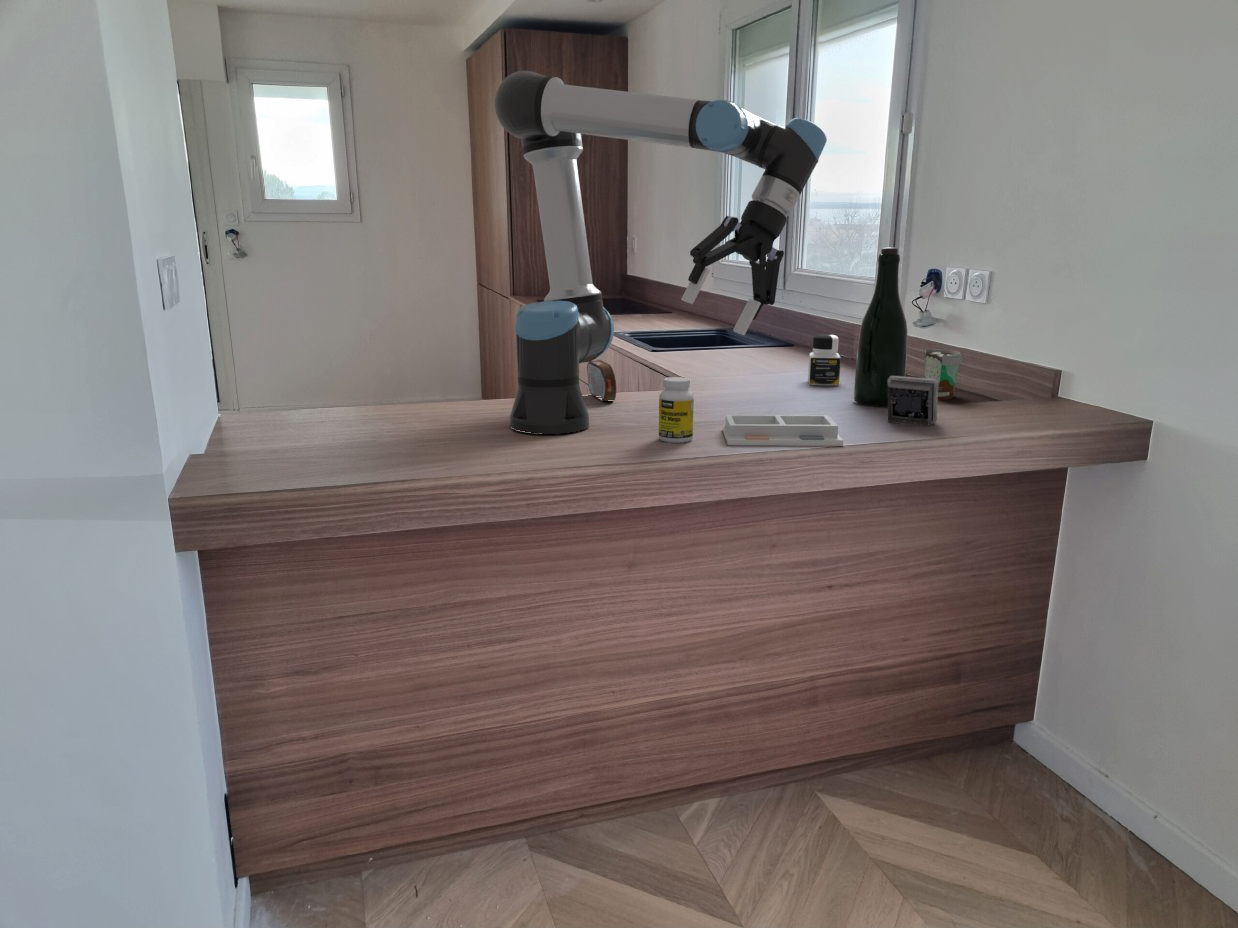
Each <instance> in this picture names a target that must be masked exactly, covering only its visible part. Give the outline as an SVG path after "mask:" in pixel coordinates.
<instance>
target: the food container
mask: <svg viewBox="0 0 1238 928" xmlns="http://www.w3.org/2000/svg"><path fill="white" fill-rule="evenodd" d="M923 358H924V370H923V378H927V379H936V380H937V382H938V399H937V401H941V400H942V401H943V400H950V399H953V398H954V395H955V388H956V381H957V377H958V373H959V372H958V371H959V366H960V365H961V364H963V357H962V355H961V352H960V351H956V350H955V351H954V350H951V349H950V350H948V349H936V348H925V352H924V357H923Z"/></svg>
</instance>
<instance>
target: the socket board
mask: <svg viewBox="0 0 1238 928" xmlns="http://www.w3.org/2000/svg"><path fill="white" fill-rule="evenodd" d="M722 433H723V435H724V438H725V441H726V443H727V446H789V447H791V446H793V447H795V446H796V447H797V446H799V447H800V446H803V447H805V446H806V447H808V446H811V447H812V446H813V447H814V446H815V447H817V446H818V447H819V446H820V447H823V446H824V447H827V446H828V447H833V446H834V447H843V446H844V439H843V438H842V437H841V436H840V435H839V434H838V433H839V425H838V424H837V423H836V422H835V421H834V420H833V419H832V418H831V417H830V415H828V414H725V424H722Z"/></svg>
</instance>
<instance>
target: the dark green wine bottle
mask: <svg viewBox="0 0 1238 928" xmlns="http://www.w3.org/2000/svg"><path fill="white" fill-rule="evenodd" d="M900 262H901V256H900V253H899V248H897V247H882V248H881V250H880V253H879V254H878V258H877V273H876V283H875V288H874V292H873V294H872V298H871V300H870V303H869V305H868V307H867V309H866V312H865V314H864V316H863V318H862V321H861V324H860V328H859V334H858V335H859V336H858V341H857V342H858V343H857V352H856V363H855V375H854V387H853V400H854V402H856V403H857V404H860V405H863V406H870V407H888V378H889V377H890V376H902V377H906V374H907V373H906V372H907V369H906V368H907V358H908V357H907V355H908V323H907V318H906V315H905V312H904V309H903V304H902V302H901V299H900V292H899V290H900V289H899V288H900V287H899V271H900V269H899V268H900Z"/></svg>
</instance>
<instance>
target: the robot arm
mask: <svg viewBox="0 0 1238 928" xmlns="http://www.w3.org/2000/svg"><path fill="white" fill-rule="evenodd" d="M494 109H495V110H494V111H495V115H496V117H497V120H498V122H499V123H500V126H501V127H502V128H503V129H504V130H505V131H506V132H507V133H509V134H510V135H512V136H513V137H515V138H517V139H520V141H521V149H522V154H523V158H524V160H526V161H527V162H528V163H529V164H531V165H532V169H533V170H532V171H533V177H534V178H533V179H534V184H535V190H536V198H537V206H538V212H539V213H538V214H539V220H540V225H541V226H540V227H541V232H542V233H541V235H542V240H543V247H544V254H545V261H546V268H547V276H548V281H549V282H548V283H549V292H548V293H547V294H546V296H545V297H544V299H543V301H539V302H531V303H528V304H525V305H523V306H521V307H520V308H519V309H518V310H517V312H516V315H515V316H516V317H515V318H516V319H515V326H514V330H515V338H516V339H515V341H516V363H517V365H516V366H517V383H518V384H517V391H516V394H515V397H514V402H513V405H512V409H511V412H510V415H509V424H510V425H509V426H511V427H512V428H514V429H516V430H520V431H525V432H531V433H542V434H555V435H561V434H560V433H567V434H570V433H569V432H573V433H577V432H576V431H578V432H581V431H580V430H582V431H584V430H587V429H588V428H589V427H590V415H589V411H588V408H587V405H586V403H585V400H584V396H583V393H582V390H581V387H580V364H583V363H588V362H590V361H595V360H597V358H599V357H600V356H602V355H603V354H605V352H607V350H608V349H609V348H610V346H611V344H612V341H613V338H614V335H615V326H614V321H613V317H612V315H611V314H610V312H609V311H608V310H607V309H606V308H605V307H604V302H603V295H602V294H603V293H602V291H601V290H599V289H598V288H597V287H596V286H595V285H594V283H593V276H592V270H591V263H590V262H591V260H590V254H589V246H588V239H587V238H588V237H587V230H586V229H587V228H586V223H585V216H584V209H583V208H584V207H583V201H582V200H583V199H582V192H581V185H580V177H579V176H580V175H579V169H578V158H579V156H580V155H581V154H582V153H583V152H584V148H583V140H582V137H583V135H586V136H596V137H604V138H610V139H611V138H612V139H621V140H626V141H627V140H628V141H636V142H643V143H649V144H650V143H651V144H658V145H666V146H673V147H674V146H675V147H676V146H677V147H683V148H691V149H697V150H701V151H711V152H717V153H723V154H726V155H729V156H731V157H734V158H736V159H739V160H741V161H744V162H747V163H749V164H751V165H754V166H756V167H758V168H760V169H763V170H764V171H763V174H762V175H761V178H760V179H759V181H758V183H757V185H756V187H755V188H754V191H753V192H752V194H751V199H752V200H750V201H748V202H747V204H746V206H745V209H744V210H743V213H742V215H741V217H740V220H741V221H740V222H739V218H738V217H736V216H731V215H725V217H724V219H723V220H722V222H721V223H720V225H719V226H717V228H716V229H714V230H713V231H712V232H711V233H709V234H708V235H707V236H706V237H705V238H704V239H703V240H701V241H700V242H699V243H698V244H697V245H696V246H693V248H692V249H691V250H690V251H689V256H691V257H692V258H693V259H692V263H693V264H694V266H693V268H692V270H691V272H690V274H689V276H688V280H687V281H688V282H689V283H688V285H687V287H686V289H685V291H684V293H683V295H682V297H681V299H680V300H681V301H683V302H685V303H687V304H690V305H694V302H696V301H695V300H696V299H697V296H698V294H699V293H700V291H701V289H702V286H703V285H704V283H705V281H706V279H707V277H708V275H709V273H710V271H711V270H710V269H709V268H708V267H709V266H710V265H713V264H714V263H716V262H719V261H720V260H722V259H724V258H726V257H728V256H730V255H732V254H734V253H736V254H737V255H740V256H742V257H743V258H744V259H745V260H747V261H748V263H749V265H750V267H751V283H752V284H751V285H752V295H753V296H752V297H753V298H748V300H747V302H746V304H745V306H744V308H743V310H742V312H741V314H740V316H739V318H738V319H737V321H736V323H735V325H734V328H733V329H732V331H733V332H734V333H736V334H739V335H741V336H745V335H746V333H747V332H748V329H749V327H750V325H751V323H752V322H753V321H755V320H756V319H757V317H758V315H759V314H760V312H761V310H762V307H764V306H768V305H770V306H774V304H775V302H776V295H777V288H778V279H779V272H780V266H781V262H782V260H783V258H784V255H785V251H784V250H782V249H778V248H775V247H774V242H775V241H776V239H777V238H779V237H780V235H781V233H782V231H783V230H784V228H785V226H786V224H787V222H788V219H787V217H789V216H791V214H792V212H793V210H794V208H795V205H796V204H797V202H798V200H799V198H800V196H801V194H802V192H803V190H804V189H805V186H806V185H807V183H808V180H809V179H810V177H811V176H812V173H813V171H814V169H815V168H816V166H817V164H818V163H819V160H820V157H821V154H822V152H823V151H824V148H825V146H826V144H827V140H828V139H827V134H826V132H825V131H824V129H822V128H821V127H820V125H817V124H816V123H814V122H813V121H810V120H809V119H806V118H804V119H803V118H800V117H795V118H792V119H790V121H789V122H788V124H786V125H785V127H784V126H782V125H778V124H775V123H773V122H771V121H769V120H766V119H764V118H762V117H760V116H757V115H755V114H753V113H751V112H749V111H747V110H745V109H744V108H742V107H741V106H740V105H739V104H737V103H736V102H734V101H730V100H725V99H715V100H712V101H710V100H701V99H696V98H686V97H677V96H676V97H675V96H669V95H668V96H667V95H658V94H651V93H650V94H649V93H642V92H641V93H640V92H635V91H634V92H632V91H626V90H625V91H624V90H615V89H614V90H613V89H607V88H599V87H598V88H597V87H589V86H581V85H580V86H579V85H571V84H570V85H569V84H567V83H566V82H564V81H563V80H562V78H559V77H556V76H548V75H543V74H541V73H538V72H535V71H530V70H519V71H516V72H513V73H511V74H509V75H508V76H506V77H505V78H504V79H503V80H502V81H501V82H500V84H499V85H498V87H497V90H496V93H495V96H494ZM733 232H734V237H733V238H731V239H728V240H727V241H725V243H724V244H721V242H722V241H724V240H726V238H728V237H729V236H730V235H731V234H732V233H733ZM719 244H721V245H720V246H718V245H719ZM717 246H718V247H717ZM715 247H716V248H715ZM586 428H587V429H586ZM583 429H584V430H583Z"/></svg>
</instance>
